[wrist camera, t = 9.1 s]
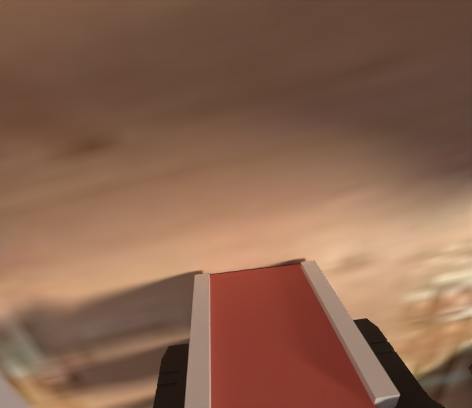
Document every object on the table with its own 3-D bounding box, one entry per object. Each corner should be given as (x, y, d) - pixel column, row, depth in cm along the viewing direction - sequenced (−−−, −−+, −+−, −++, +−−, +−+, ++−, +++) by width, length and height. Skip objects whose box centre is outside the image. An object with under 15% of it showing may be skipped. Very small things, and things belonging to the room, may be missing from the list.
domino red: (209, 275, 13) (209, 671, 4) (299, 263, 14) (485, 608, 4) (213, 302, 14) (220, 684, 5) (298, 291, 14) (452, 630, 5)
